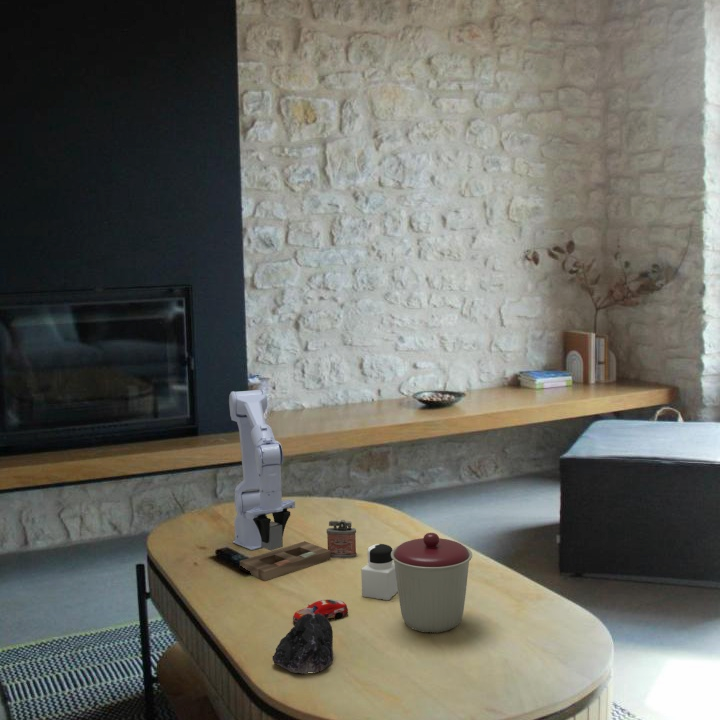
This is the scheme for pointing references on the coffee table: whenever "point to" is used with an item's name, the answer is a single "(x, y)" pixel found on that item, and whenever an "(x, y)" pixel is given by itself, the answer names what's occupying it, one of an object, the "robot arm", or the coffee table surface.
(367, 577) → the medicine bottle
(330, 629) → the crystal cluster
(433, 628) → the canister
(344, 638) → the coffee table surface
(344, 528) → the lighter
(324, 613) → the race car
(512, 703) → the coffee table surface
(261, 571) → the socket board
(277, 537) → the plug
